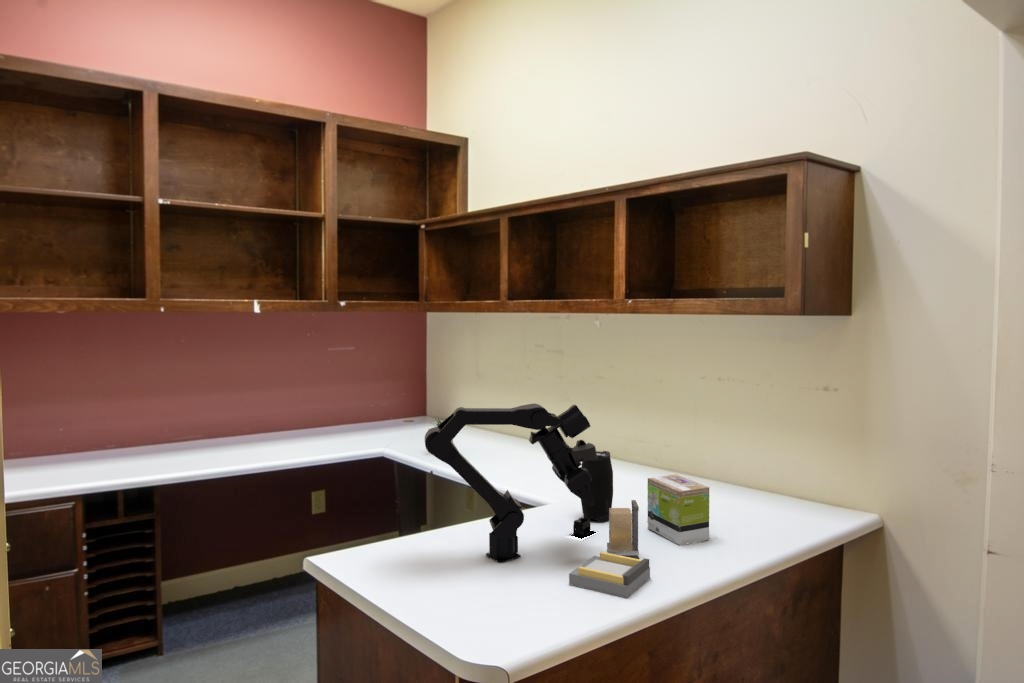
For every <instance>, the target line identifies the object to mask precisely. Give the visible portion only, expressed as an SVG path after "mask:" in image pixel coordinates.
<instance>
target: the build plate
mask: <svg viewBox="0 0 1024 683" xmlns="http://www.w3.org/2000/svg"><path fill="white" fill-rule="evenodd" d="M572 528H573V529H572V530H573V532H572V533H573V534H572V533H571V534H572V535H571V536H575V537H578V538H581V539H582V538H584V537H587V536H590V535H592V534H594V533H596V532H594V531H595V530H593V531H590V530H591V519H585V518H583V517H579V518H578V519H575V520H574V521H573V527H572Z"/></svg>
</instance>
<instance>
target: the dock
mask: <svg viewBox="0 0 1024 683" xmlns="http://www.w3.org/2000/svg"><path fill="white" fill-rule="evenodd" d="M650 579H651V566H650V559H649V558H645V557H644V558H643V559H640V558H639V559H635V558H630V557H629V556H626V555H615V554H610V553H608V552H605V551H601V552H599V556H598V555H594V556H592V557H591V558H589V559H587V560H586V561H585V562H584V563H582V564H581V565H578V567H576V568H575V569H573V570H572V571H571V572H569V573H568V585H570V586H573V587H574V586H576V587H578V588H583V589H587V590H592V591H594V592H595V591H596V592H600V593H603V594H609V595H613V596H617V597H621V598H626V599H628V598H629V597H630V596H631V595H633V593H635V592H636V591H637V590H638V589H639V588H641V587H642V585H644V584H645V583H646V582H647V581H649V580H650Z"/></svg>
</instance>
